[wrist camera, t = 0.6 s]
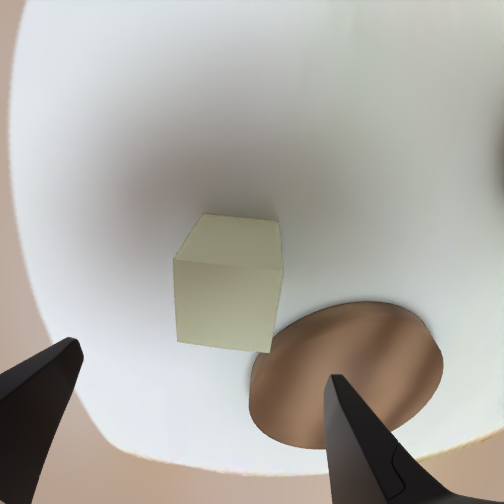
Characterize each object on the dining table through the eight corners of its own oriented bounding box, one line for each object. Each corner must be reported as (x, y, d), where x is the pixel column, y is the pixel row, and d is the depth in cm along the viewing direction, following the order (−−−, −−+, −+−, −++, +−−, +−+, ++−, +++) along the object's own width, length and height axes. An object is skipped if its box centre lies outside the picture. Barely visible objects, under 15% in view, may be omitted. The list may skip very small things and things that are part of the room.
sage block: (278, 221, 20) (283, 271, 13) (269, 286, 22) (269, 353, 15) (203, 213, 20) (173, 259, 13) (201, 279, 22) (177, 341, 15)
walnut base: (459, 305, 22) (474, 325, 19) (390, 424, 29) (395, 443, 26) (262, 292, 22) (261, 316, 19) (243, 424, 29) (241, 446, 27)
